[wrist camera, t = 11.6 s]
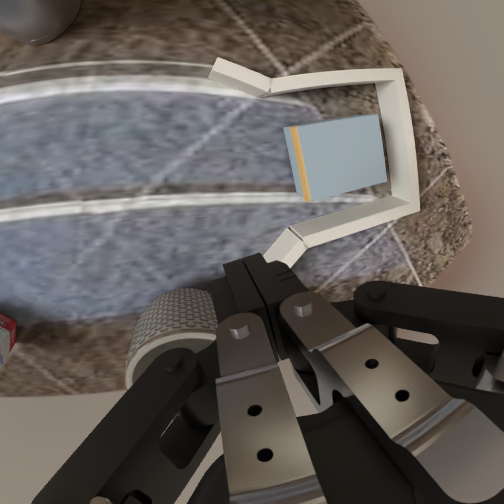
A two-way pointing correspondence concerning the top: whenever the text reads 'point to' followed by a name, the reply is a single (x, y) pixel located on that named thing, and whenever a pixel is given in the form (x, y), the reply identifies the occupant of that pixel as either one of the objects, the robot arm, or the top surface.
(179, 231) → the top surface
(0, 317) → the ink box
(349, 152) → the light blue box
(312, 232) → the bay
